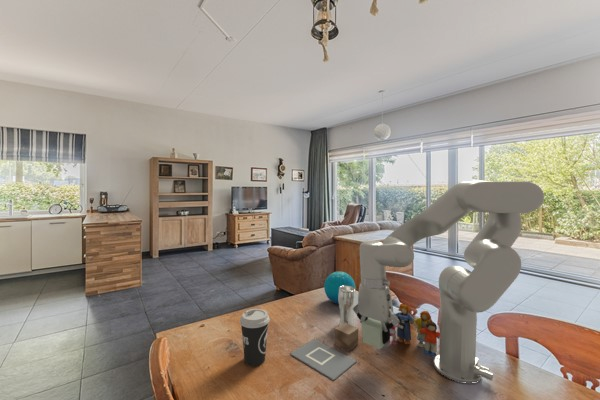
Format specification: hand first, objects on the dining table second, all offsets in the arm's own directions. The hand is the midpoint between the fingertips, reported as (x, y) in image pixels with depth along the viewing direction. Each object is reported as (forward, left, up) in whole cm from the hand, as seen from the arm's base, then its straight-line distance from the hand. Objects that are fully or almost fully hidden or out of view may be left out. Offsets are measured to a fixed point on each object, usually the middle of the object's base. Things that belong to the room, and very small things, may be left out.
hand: (375, 337), depth 86 cm
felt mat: (+14, +9, -9) cm, 19 cm away
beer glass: (+21, -15, -9) cm, 27 cm away
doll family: (-3, -20, -9) cm, 22 cm away
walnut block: (+13, -3, -9) cm, 16 cm away
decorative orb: (+36, -31, -9) cm, 48 cm away
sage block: (0, 0, -1) cm, 1 cm away
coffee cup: (+29, +25, -9) cm, 39 cm away
